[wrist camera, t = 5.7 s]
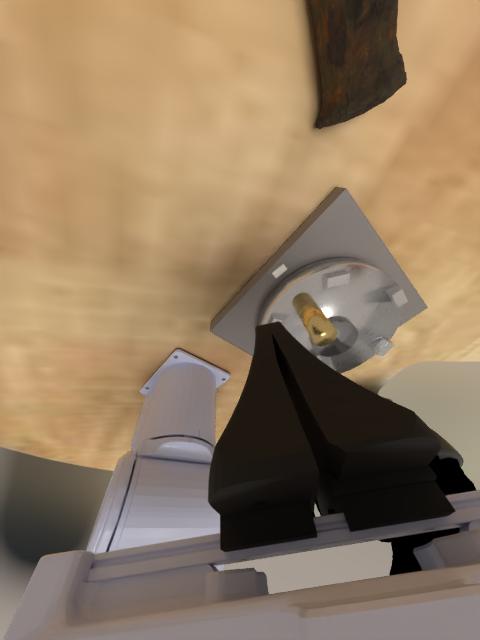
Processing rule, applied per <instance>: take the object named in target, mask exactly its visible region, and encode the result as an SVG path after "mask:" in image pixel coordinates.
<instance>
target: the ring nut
mask: <svg viewBox="0 0 480 640" xmlns="http://www.w3.org/2000/svg"><path fill="white" fill-rule="evenodd" d="M407 302H408V300H407V298H406V296H405V294H404V292H403V290H402V289H401V288H400V287H399V286H398V284H397V283H396V282H395V281H394V280H393V279H392V278H391V277H390V276H388V275H387V274H385V273H384V272H382V271H380V270H379V269H377V268H376V267H374V266H372V265H371V264H369V263H367V262H364V261H362V260H358V259H354V258H344V257H342V258H330V259H325V260H321V261H317V262H314V263H311V264H309V265H307V266H305V267H302V268H301V269H299V270H297V271H295V272H294V273H292V274H291V275H289V276H288V277H287V278H285V279H284V280H283V281H282V282H281V283H280V284H279V285H278V286H277V287H276V288H275V289H274V290H273V291H272V292H271V294H270V295H269V297H268V298H267V299H266V301H265V303H264V305H263V307H262V310H261V312H260V315H259V321H258V326H259V325H263V324H268V323H273V322H278V321H279V322H281V323H282V325H283V326H284V327H285V328H286V329H287V330H288V331H289V332H290V333H291V335H292V336H293V337H294V338H295V339H296V340H298V341H299V342H300V343H301V344H302V345H303V346H304V347H305V348H306V349H307V350H309V351H310V352H311V353H312V354H313V355H315V356H316V357H317V358H318V359H320V360H321V361H322V362H324V363H325V364H327V365H328V366H329V367H331V368H332V369H334V370H335V371H337V372H338V373H343V372H346V371H348V370H351V369H353V368H355V367H357V366H359V365H360V364H362V363H364V362H365V361H367V360H368V359H370V358H371V357H372V356H374V355H375V354H376V355H379V356H384V355H385V354H386V353H387V352H388V351H389V350H390V349H391V348H392V347H393V346H394V344H393V343H392V342H391V341H390V339H391V337H392V336H393V334H394V333H395V331H396V330H397V328H398V326H399V324H400V321H401V318H402V314H403V309H404V304H405V303H407Z"/></svg>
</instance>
